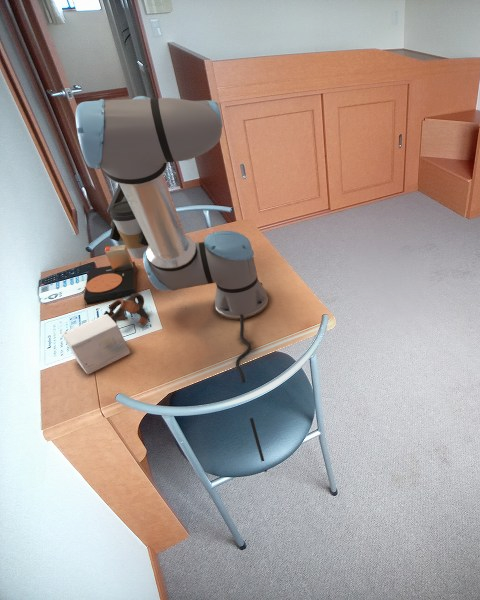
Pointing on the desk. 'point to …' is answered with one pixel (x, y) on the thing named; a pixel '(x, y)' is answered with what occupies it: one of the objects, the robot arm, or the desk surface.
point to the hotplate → (120, 291)
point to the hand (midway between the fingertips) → (128, 242)
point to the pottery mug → (128, 309)
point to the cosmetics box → (96, 343)
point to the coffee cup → (128, 228)
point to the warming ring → (104, 283)
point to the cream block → (119, 257)
